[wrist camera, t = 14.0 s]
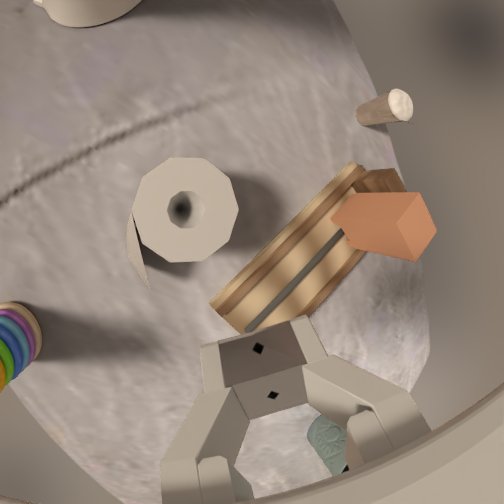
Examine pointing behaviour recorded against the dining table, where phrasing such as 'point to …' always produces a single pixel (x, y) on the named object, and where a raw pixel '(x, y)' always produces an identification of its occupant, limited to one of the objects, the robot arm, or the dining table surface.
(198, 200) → the toilet tissue
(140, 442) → the dining table surface
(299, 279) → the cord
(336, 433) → the green cup
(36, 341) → the stacking toy
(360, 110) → the milkshake
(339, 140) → the dining table surface
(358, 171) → the channel
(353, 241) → the panel
